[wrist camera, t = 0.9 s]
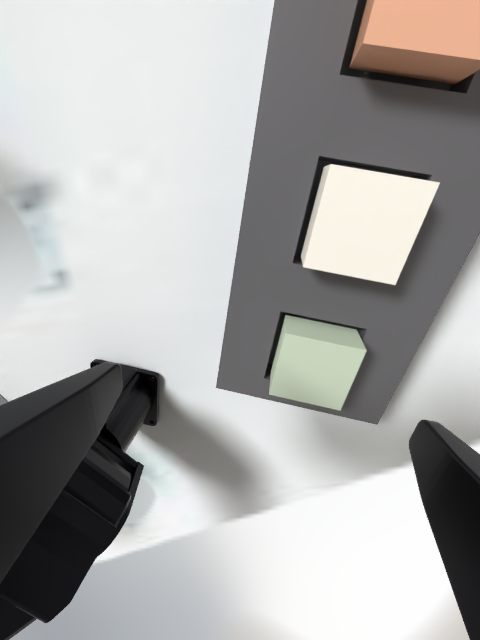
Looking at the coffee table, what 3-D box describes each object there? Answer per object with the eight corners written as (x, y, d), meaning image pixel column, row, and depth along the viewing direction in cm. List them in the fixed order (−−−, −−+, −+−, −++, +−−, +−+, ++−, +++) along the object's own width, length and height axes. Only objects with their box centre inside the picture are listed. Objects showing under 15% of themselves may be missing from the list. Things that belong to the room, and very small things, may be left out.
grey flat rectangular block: (365, 392, 23) (377, 424, 20) (225, 361, 24) (216, 387, 21) (591, -88, 11) (705, -189, 8) (302, -119, 12) (308, -222, 9)
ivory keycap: (380, 271, 16) (395, 285, 14) (300, 255, 16) (303, 267, 14) (415, 182, 14) (440, 182, 12) (323, 167, 14) (330, 163, 12)
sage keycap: (334, 385, 20) (340, 410, 18) (270, 371, 20) (268, 394, 18) (356, 329, 18) (366, 350, 16) (285, 314, 18) (285, 333, 16)
